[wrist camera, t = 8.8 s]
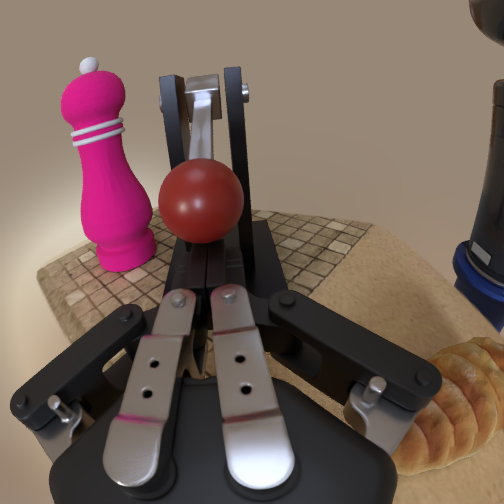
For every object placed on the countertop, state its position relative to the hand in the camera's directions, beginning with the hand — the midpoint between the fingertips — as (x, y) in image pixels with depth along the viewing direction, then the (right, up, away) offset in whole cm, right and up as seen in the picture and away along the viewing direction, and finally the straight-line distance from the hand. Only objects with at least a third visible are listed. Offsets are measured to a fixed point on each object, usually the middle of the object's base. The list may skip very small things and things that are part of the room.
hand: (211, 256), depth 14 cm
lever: (-1, +5, +2) cm, 6 cm away
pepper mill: (-11, 0, +14) cm, 18 cm away
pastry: (+13, -9, -3) cm, 16 cm away
